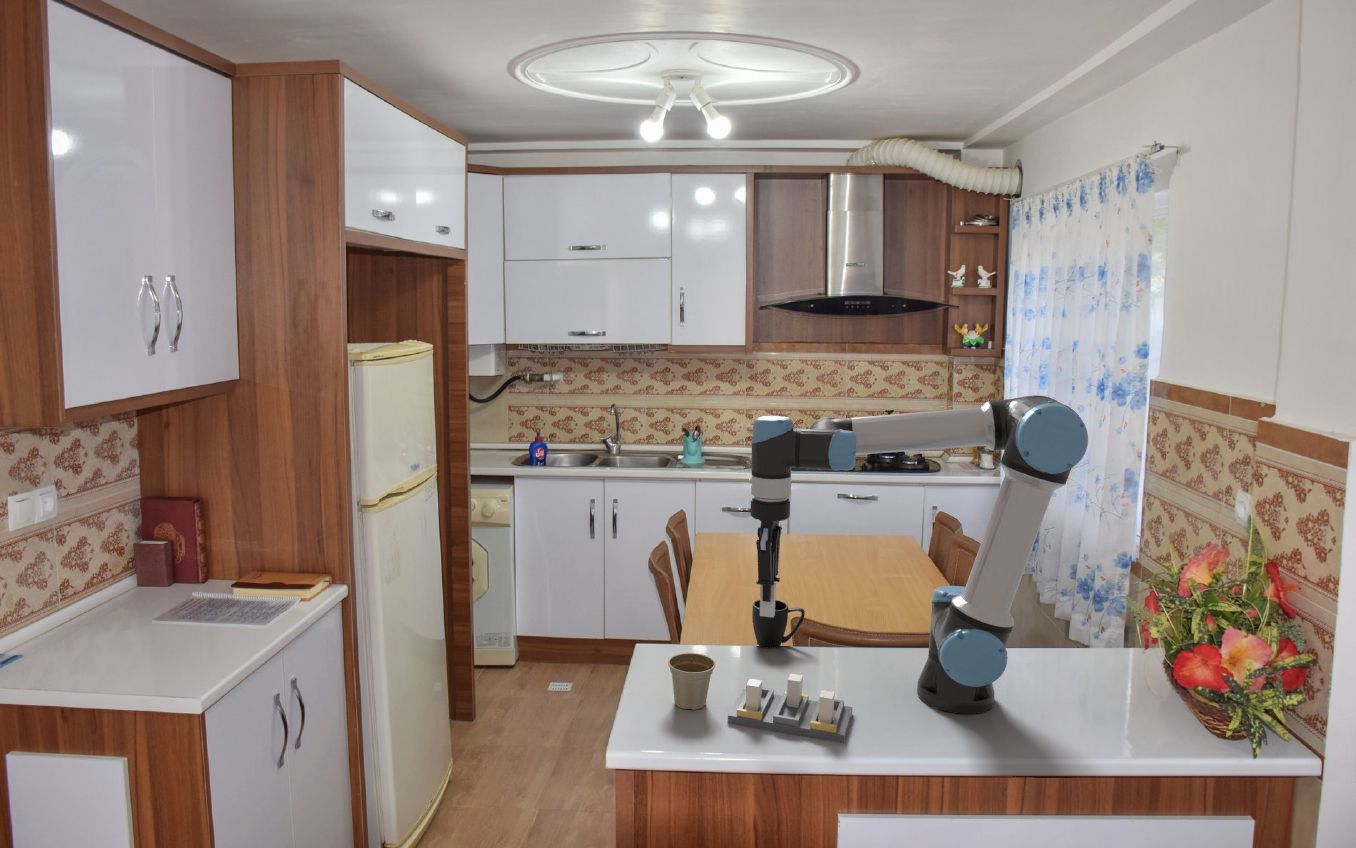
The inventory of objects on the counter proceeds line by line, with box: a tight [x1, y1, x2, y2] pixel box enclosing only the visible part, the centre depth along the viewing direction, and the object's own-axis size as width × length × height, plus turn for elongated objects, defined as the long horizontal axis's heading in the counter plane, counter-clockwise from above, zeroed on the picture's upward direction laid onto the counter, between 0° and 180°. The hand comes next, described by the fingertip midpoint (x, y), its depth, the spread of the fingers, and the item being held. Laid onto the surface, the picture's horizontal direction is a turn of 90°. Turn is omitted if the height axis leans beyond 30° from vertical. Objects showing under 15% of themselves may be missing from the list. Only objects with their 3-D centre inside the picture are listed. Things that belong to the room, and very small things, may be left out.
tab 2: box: [786, 673, 804, 708], centre depth 177 cm, size 2×3×6 cm
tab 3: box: [818, 689, 835, 724], centre depth 170 cm, size 2×3×6 cm
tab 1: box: [745, 678, 763, 711], centre depth 175 cm, size 2×3×6 cm
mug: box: [751, 599, 805, 649], centre depth 210 cm, size 8×12×10 cm
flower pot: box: [667, 652, 717, 711], centre depth 180 cm, size 9×9×9 cm
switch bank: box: [727, 687, 854, 744], centre depth 175 cm, size 22×12×3 cm, turn 72°
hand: (767, 615), depth 177 cm, fingers closed
